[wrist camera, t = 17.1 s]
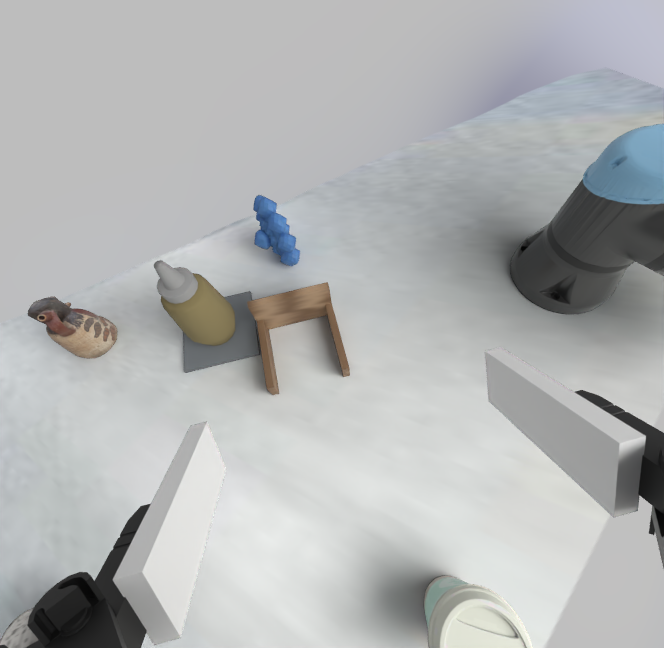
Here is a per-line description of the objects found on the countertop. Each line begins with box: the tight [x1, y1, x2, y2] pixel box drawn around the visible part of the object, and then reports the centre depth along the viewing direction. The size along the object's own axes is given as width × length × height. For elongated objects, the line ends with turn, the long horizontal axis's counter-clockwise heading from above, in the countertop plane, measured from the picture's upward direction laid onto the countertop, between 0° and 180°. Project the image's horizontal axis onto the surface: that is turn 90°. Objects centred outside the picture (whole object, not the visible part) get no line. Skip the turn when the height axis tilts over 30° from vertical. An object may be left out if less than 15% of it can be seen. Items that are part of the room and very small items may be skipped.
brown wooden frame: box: [247, 282, 350, 395], centre depth 48 cm, size 12×12×8 cm
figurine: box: [28, 297, 117, 358], centre depth 50 cm, size 7×7×12 cm
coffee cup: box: [424, 576, 532, 648], centre depth 31 cm, size 8×8×12 cm
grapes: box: [254, 195, 300, 266], centre depth 55 cm, size 12×7×12 cm, turn 33°
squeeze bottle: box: [154, 260, 235, 346], centre depth 46 cm, size 8×8×18 cm
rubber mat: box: [183, 291, 260, 373], centre depth 54 cm, size 12×12×1 cm
